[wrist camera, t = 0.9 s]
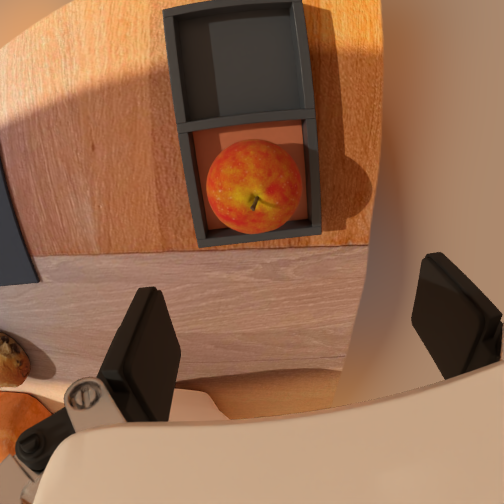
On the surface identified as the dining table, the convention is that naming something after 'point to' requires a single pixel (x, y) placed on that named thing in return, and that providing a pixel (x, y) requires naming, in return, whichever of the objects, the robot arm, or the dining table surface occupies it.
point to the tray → (243, 100)
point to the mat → (12, 244)
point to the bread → (17, 419)
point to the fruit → (254, 186)
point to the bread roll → (12, 363)
